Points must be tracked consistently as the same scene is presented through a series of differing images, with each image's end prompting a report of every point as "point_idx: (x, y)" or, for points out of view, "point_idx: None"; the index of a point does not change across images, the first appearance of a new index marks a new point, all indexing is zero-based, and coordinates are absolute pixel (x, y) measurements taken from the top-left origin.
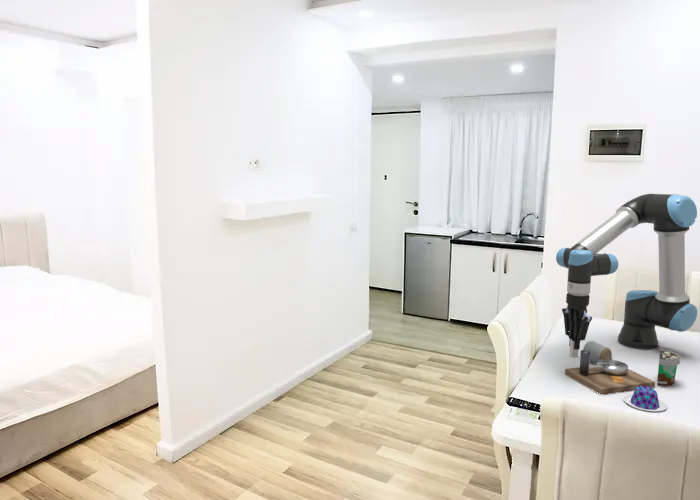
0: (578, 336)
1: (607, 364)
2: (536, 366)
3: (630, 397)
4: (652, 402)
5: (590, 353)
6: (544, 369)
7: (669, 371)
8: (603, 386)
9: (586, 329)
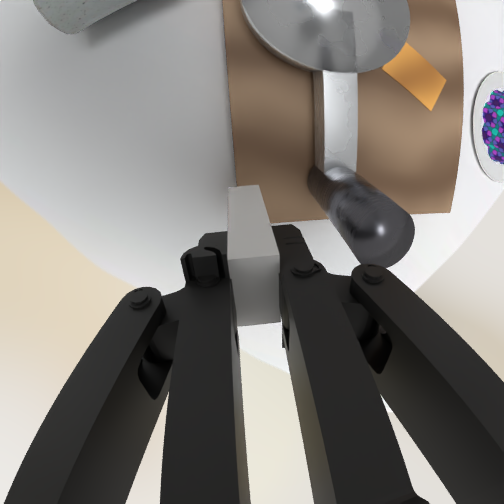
0: (368, 359)
1: (331, 22)
2: (139, 280)
3: (478, 129)
4: None
5: (111, 3)
6: (173, 268)
7: None
8: (442, 189)
9: (480, 384)
